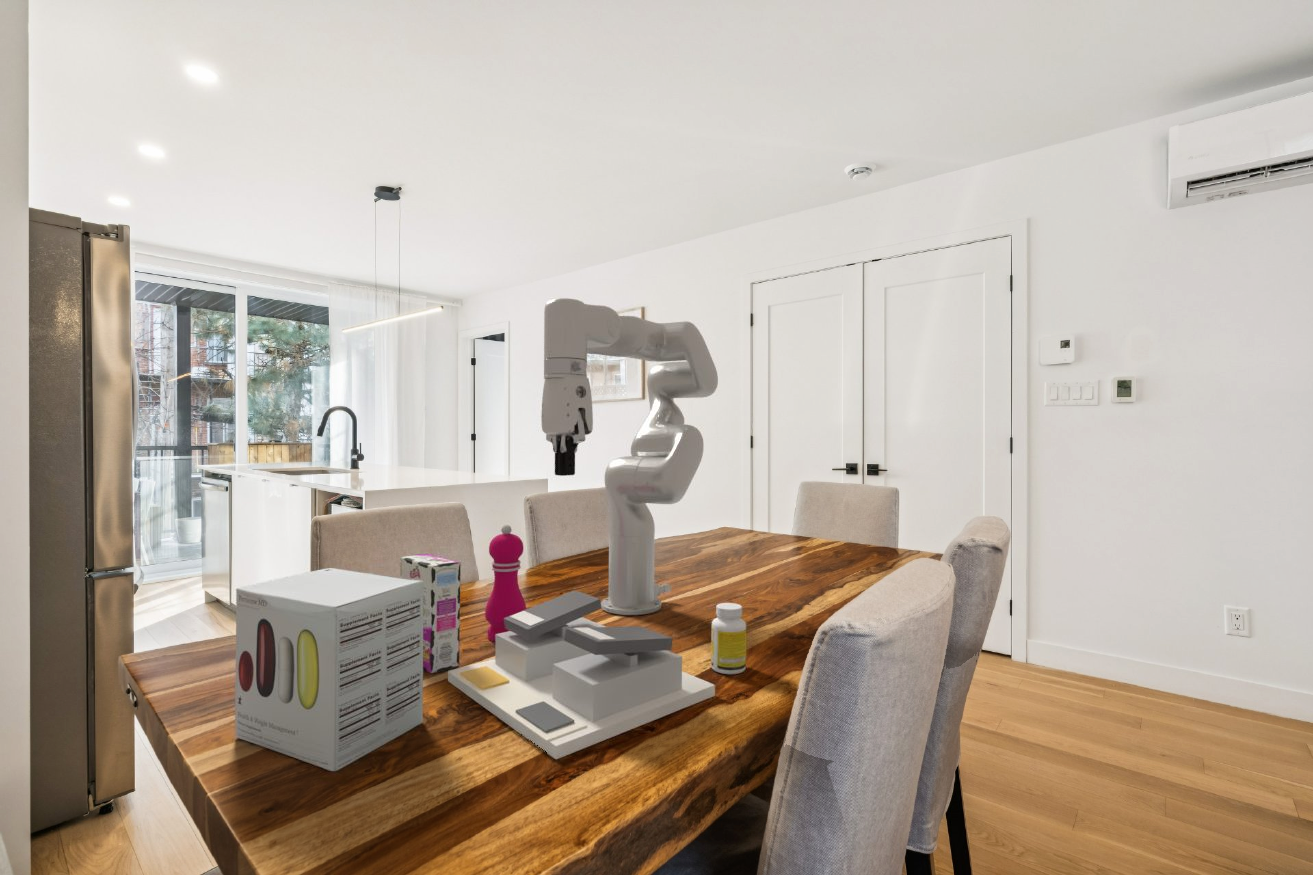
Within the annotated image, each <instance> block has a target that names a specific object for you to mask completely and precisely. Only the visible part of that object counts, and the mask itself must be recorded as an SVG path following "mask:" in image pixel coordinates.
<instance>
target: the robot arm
mask: <svg viewBox="0 0 1313 875" xmlns="http://www.w3.org/2000/svg"><path fill="white" fill-rule="evenodd" d="M543 320H544V322H543V324H544V326H543V330H544V331H543V341H544V342H543V343H544V344H543V345H544V346H543V347H544V348H543V351H544V352H543V359H544V360H543V380H544V383H543V389H542V390H543V391H542V397H541V398H542V400H541V417H540V418H541V430H542V432H543V433H544V434H545V435H546V436H545V440H546V441H547V442H550V443H551V444H552V451H553V453H554V475H555V476H560V477H561V476H563V477H564V476H574V475H575V474H576V453H577V452H578V447H579V446H578V445H579V444H580V443H583V442H585V441H586V436H587V435H590V434H591V433H592V432H593V431H594V430H593V428H594V422H593V421H594V414H593V411H594V410H593V398H592V396H593V395H592V388H591V383H590V380H589V378H588V355H589V354H590V355H600V356H608V357H615V358H628V359H629V358H631V359H636V360H640V361H641V360H642V361H647V362H651V363H652V362H653V363H655V362H656V363H658V364H656V365H655V366H653V367H652V368H651V369H650V370H649V372H648V374H647V379H646V386H647V394H648V403H649V413H648V415H647V416H646V418H645V420H644V421H643V423H642V425H641V426H640V428H639V430H638V431H637V432H636V435H635V436H634V438H633V440H632V443H631V446H630V454H631V455H628V456H626V455H625V456H620V457H617V458H615V459H613V460H612V461H611V462H610V463H608V465H607V467H606V469H605V471H604V486H605V493H606V497H607V503H608V518H609V520H608V523H609V524H608V526H609V527H608V529H609V530H608V531H609V532H608V597H605V598H603V600H601V608H602V610H603V611H605V612H607V613H608V614H614V615H620V616H641V615H647V614H652V613H655V612H656V613H657V612H658V611H659V610H660V609H662V601H661V600H660V598H659V596H661V594H667V593H670V592H671V591H672V588H671V585H670V584H669V583H663V584H658V583H656V582H655V532H656V528H655V527H656V526H655V520H654V517H653V514H652V512H651V510H650V509H649V507H648V505H647V504H656V505H674V504H677V503H679V502H680V501H681V500H682V499H683V498H684V496H685V495H686V493H687V491H688V489H689V487H690V485H691V483H692V481H693V479H694V477H695V475H696V473H697V470H698V469H699V466H700V464H701V462H702V459H703V455H704V447H705V446H704V439H703V437H704V436H703V434H702V433H701V431H700V430H699V429H698V428H697V427H695V426H694V425H691V424H685V417H684V414H683V412H682V411H681V409H680V407H679V406H678V405H677V404H676V402H675V401H674V399H689V398H691V399H692V398H694V399H697V398H698V399H699V398H701V399H702V398H707V397H709V396H711V395H713V394H714V393H715V392H716V390H717V388H718V383H719V378H718V377H719V376H718V370H717V367H716V365H715V363H714V359H713V358H712V356H711V353H710V350H709V348H708V346H707V343H706V341H705V338H704V337H703V335H702V333H701V332H700V330H699V328H698V327H697V326H696V325H695V324H694V323H693V322H690V321H677V322H675V321H673V322H664V323H659V322H654V321H651V320H647V319H644V318H641V317H638V316H634V315H620V314H619V313H618V312H617V311H616V310H615V309H613V308H611V307H610V306H606V305H597V304H596V305H595V304H588V303H584V302H583V301H582V300H578V299H576V298H563V297H562V298H561V297H559V298H554V299H550V300H549V301H547V302H546V303H545V306H544V316H543ZM660 362H661V363H660Z"/></svg>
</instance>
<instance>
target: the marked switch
mask: <svg viewBox="0 0 1313 875" xmlns="http://www.w3.org/2000/svg"><path fill="white" fill-rule="evenodd" d="M601 602H602V600H601V598H599V597H596V596H593V595H589V594H588V593H584V592H581V591H578V590H575V589H574V590H572V591H569V592H566V593H565V594H562V595H559V596H557V597H555V598H552V599H549V600H546V601H544V602H542V603H539V604H537V605H534V606H531V607H529V608H526V610H524V611H521V612H519V613H516V614H514V615H511V616H508V617H506V618H504V623H505V629H507V630H509V631H511V632H513V633H515V634H518V635H520V636H522V637H524V638H526V639H528V640H531V639H533V638H535V637H538V636H540V635H542V634H544V633H547V632H549V631H551V630H554V629H556V628H558V627H561V626H563V625H565V624H567V623H570V622H572V621H574V620H577V619H579V618H581V617H583V618H585V617H586V616H588V615H590V614H592V613H594V612H597V611H600V610H601V609H602V608H601ZM602 610H603V609H602Z"/></svg>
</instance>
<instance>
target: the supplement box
mask: <svg viewBox="0 0 1313 875" xmlns="http://www.w3.org/2000/svg"><path fill="white" fill-rule="evenodd" d="M423 586H424V583H423V581H421V580H413V579H407V578H401V576H391V575H384V574H380V573H379V574H378V573H371V572H362V571H355V570H349V569H343V568H342V569H341V568H333V567H329V568H321V569H318V570H313V571H308V572H303V573H297V574H294V575H289V576H284V577H280V578H276V579H275V578H274V579H272V580H271V579H270V580H267V581H262V582H257V583H254V584H248V585H244V586H241V587H237V588H236V589H235V591H236V593H235V596H236V600H235V601H236V602H235V610H236V611H235V612H236V613H235V616H236V617H235V618H236V619H235V681H234V682H235V687H234V688H235V691H234V692H235V696H234V698H235V699H234V703H235V704H234V705H235V706H234V715H235V716H234V717H235V719H234V720H235V722H234V723H235V724H234V736H235V739H240V740H243V741H246V742H249V743H252V744H254V745H257V746H260V747H263V748H266V749H269V750H271V751H274V752H277V753H280V754H283V755H286V756H288V757H292V758H295V759H298V760H300V761H301V762H305V763H309V764H311V765H313V766H317V767H319V768H322V769H324V770H326V771H329V772H336V771H339V770H341V769H342V768H344V767H346V766H348V765H350V764H351V763H353V762H355V761H357V760H359V759H360V758H362V757H364V756H366V755H367V754H369V753H371V752H373V751H375V750H377V749H379V748H381V747H382V746H384V745H386V744H387V743H389V742H391V741H393V740H394V739H396V738H398V737H401V736H402V735H403V734H405V733H407V732H409V731H410V730H413V729H414V728H416V727H418V726H419V725H421V724H423V723H424V719H423V718H424V714H423V711H424V705H423V704H424V703H423V702H424V698H423V697H424V669H423Z"/></svg>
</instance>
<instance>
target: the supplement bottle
mask: <svg viewBox="0 0 1313 875" xmlns="http://www.w3.org/2000/svg"><path fill="white" fill-rule="evenodd" d="M715 609H716V610H715V615H716V616H717V617H716V618H714V619H713V620H712V621H711V640H710V641H711V644H710V650H711V651H710V652H711V653H710V664H711V668H712V670H713V671H715V672H717V673H719V674H724V675H737V674H741V673H743V672H745V670H746V668H747V623H746V622H745V620H744V619H742V618H741V617H743V616H742V615H743V606H742V605H741V604H739V603H735V602H734V603H732V602H721V603H718V604H716V606H715Z"/></svg>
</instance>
